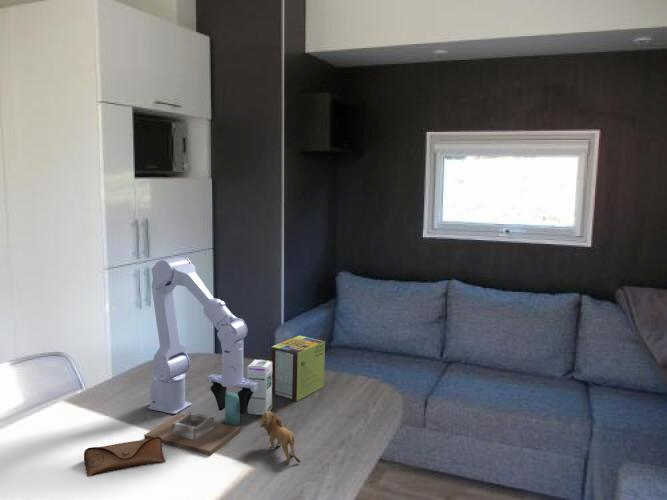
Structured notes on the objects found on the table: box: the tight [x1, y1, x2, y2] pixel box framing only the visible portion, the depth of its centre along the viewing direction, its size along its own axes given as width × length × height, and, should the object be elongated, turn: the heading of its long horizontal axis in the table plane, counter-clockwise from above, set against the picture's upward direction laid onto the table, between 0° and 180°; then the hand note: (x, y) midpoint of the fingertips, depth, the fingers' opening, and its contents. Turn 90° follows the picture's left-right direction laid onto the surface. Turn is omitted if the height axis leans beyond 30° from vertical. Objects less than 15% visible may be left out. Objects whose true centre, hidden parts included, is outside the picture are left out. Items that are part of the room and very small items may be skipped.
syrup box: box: [247, 359, 273, 416], centre depth 163 cm, size 6×6×14 cm
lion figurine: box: [257, 410, 301, 464], centre depth 140 cm, size 15×5×9 cm, turn 44°
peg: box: [224, 391, 241, 427], centre depth 156 cm, size 4×4×8 cm
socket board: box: [143, 411, 242, 456], centre depth 148 cm, size 20×14×4 cm
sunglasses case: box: [83, 437, 166, 478], centre depth 134 cm, size 18×7×7 cm, turn 117°
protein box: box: [270, 335, 326, 402], centre depth 179 cm, size 10×15×16 cm
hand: (232, 411), depth 156 cm, fingers open, 6 cm apart
